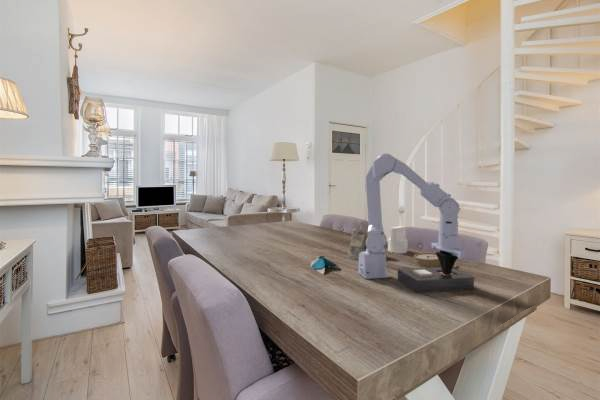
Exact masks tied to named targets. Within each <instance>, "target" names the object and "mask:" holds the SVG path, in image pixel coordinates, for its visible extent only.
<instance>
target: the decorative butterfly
mask: <svg viewBox="0 0 600 400" xmlns="http://www.w3.org/2000/svg"><path fill="white" fill-rule="evenodd" d="M315 258H316V259H315V260H313V261H311V263H310V268H311V269H312V270H314V271H316V272H319V273H320V274H322V275H324V274H325V269H326V267H330V268H333V269H337V270H342V268H341V267H340V266H339V265H337V264H336V263H335V262H332V260H329V259H327V258H326V256H324V255H319V256H316V257H315Z"/></svg>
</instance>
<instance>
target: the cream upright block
mask: <svg viewBox="0 0 600 400" xmlns="http://www.w3.org/2000/svg"><path fill="white" fill-rule="evenodd" d="M406 228H407V227H406V226H405V225H398V226H393V227H392V226H391V227H390V233H389V235H390V237H388V243H387V244H388V245H387V251H388V252H389V251H390V252H389V253H392V252H394V253H393V254H407V253H408V246H409V244H408V243H409V240H408V239H407V238H406V234H407V233H406V232H407V229H406ZM406 252H407V253H406Z"/></svg>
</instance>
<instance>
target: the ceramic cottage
mask: <svg viewBox="0 0 600 400" xmlns="http://www.w3.org/2000/svg"><path fill="white" fill-rule="evenodd" d="M367 237H368V229H367V228H366V227H365V226H364V223H360V225H359V231H358V230H357V229H355V228H353V229H352V233H351V241H350V243H349V248H348V250H347V253H346V258H347V259H350V260H351V259H352V260H358V261H359V254H360V252H364V251H366V249H367V247H366V244H365V243H366V239H367ZM387 244H388V243H386V244H385V245H384V248H385V249H386V250H388V245H387ZM387 258H388V256H387V253H386V259H387Z"/></svg>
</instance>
